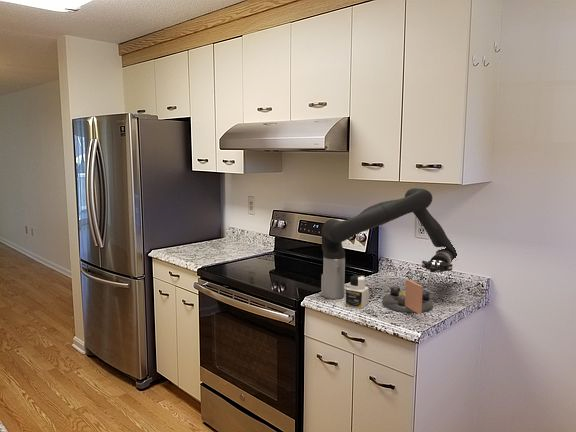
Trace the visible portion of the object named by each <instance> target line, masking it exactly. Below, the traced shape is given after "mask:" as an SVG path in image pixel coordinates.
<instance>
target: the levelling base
mask: <svg viewBox="0 0 576 432" xmlns="http://www.w3.org/2000/svg"><path fill="white" fill-rule="evenodd" d="M389 291H390V293H387V294H385V295H383V296H382V301H381V303H382V305H383V307H385V308H386V309H389V310H392V311H395V312H398V313H399V312H400V313H405V314H417V313H416V312H415V311H413V310H411V309H409V308H408V307H406V306H401V305H398V296H400V295H404V296H405V289H404V290H401V287H399V286H391V287H390V290H389ZM430 294H431V293H430V291H428V290H423V294H422V314H423V313H427V312H430V311H432V310H433V308H434V307H433V306H434V301H433V300H432V299H431V298H430V296H431V295H430Z"/></svg>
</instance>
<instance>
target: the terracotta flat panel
mask: <svg viewBox="0 0 576 432" xmlns="http://www.w3.org/2000/svg"><path fill="white" fill-rule="evenodd" d="M404 284H405V288H404V290H405V296H404V295H400V296H398V305H401V306H406V307H408V308H409V309H411V310H413V311H415V312H416V313H415V314H418V315H422V314H423V313H422V294H423V291H424V290H423V289H424V286H423V285H421V284H419V283H417V282H415V281H412V280H410V279H409V278H406V279H405V283H404Z"/></svg>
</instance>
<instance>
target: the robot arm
mask: <svg viewBox="0 0 576 432" xmlns="http://www.w3.org/2000/svg"><path fill="white" fill-rule="evenodd" d="M432 202H433V195H432V193H431V191H429V190H428V189H425V188H416V187H415V188H410V189H408V190H407V191H406V192H405V194H404V197H402V198H398V199H392V200H387V201H386V200H385V201H382V202H378V203H376V204H373V205H371V206H368V207H367V208H364V209H363V210H362V211H361V212H360V213H359V214H357V215H355V216H353V217H352V218H347V219H345V220H338V219H335V218H333V219H332V218H330V219H327V220H326V221H325V222H324V223H323V225H322V228H321V250H322V253H323V262H322V263H323V267H322V269H323V270H322V271H323V273H322V274H321V276H320V277H321V278H320V279H321V281H320V282H321V283H320V284H321V286H320V290H321V291H320V296H321V297H324V298H326V299H330V300H332V299H333V300H337V299H342V298H345V279H346V278H345V277H346V276H345V274H346V272H345V271H346V270H345V269H346V251H345V249H344V247H343V242H345V241H347V240H349V239H350V238H352V237H354V236H356V235H358V234H360V233H363V232H366V231H369V230H372V229H374V228H376V227H380V226H383V225H385V224H388V223H389V222H391V221H394V220H397V219H399V218H401V217H404V216H405V215H407V214H411V213H413V215H414V216H415V217H416V219H417V220H418V221H419V223H420V224H421V226H422V227H423V228H424V230H425V232H426V234H427V235H428V238H429V240H431V242H432V245H433V246H434V247H435V248H440V249H441V250H440V249H438V250H436V252H435V254H434V255H433V256H432V257H431V259H430V260H428V261H426V260H421V267H422V268H424V269H426V270H428V271H429V272H430V273H436V272H437V273H443V272H450V271H453V264H452V262H453V261H452V260H453V259H454V258H456V256H457V253H456V250H455V248H454V247H453V245H452V244H451V242H452V241H451V240H450V239H449V238H448V236H447V234H446V232H445V231H444V229H443V227H442V225H441V224H440V223H439V222H438V221H437V219H436V218H434V217H433V215H432V214H431V213H430V212H429V210H428V209H427V208H429V207H430V206H431V205H432ZM450 241H451V242H450ZM445 247H446V248H445ZM442 248H445V249H442Z"/></svg>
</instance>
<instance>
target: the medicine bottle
mask: <svg viewBox="0 0 576 432" xmlns="http://www.w3.org/2000/svg"><path fill="white" fill-rule="evenodd" d="M349 279H350V280H349V287H346V288H345V306H346V307H351V308H356V309H357V308H358V309H362V308H364V307H366V306H367V305H369V300H370V299H369V296H370V295H369V294H370V293H369V292H370V288H369V287H367V286H366V278H365V276H363V275H360V274H357V275H352V276H350V277H349Z"/></svg>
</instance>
